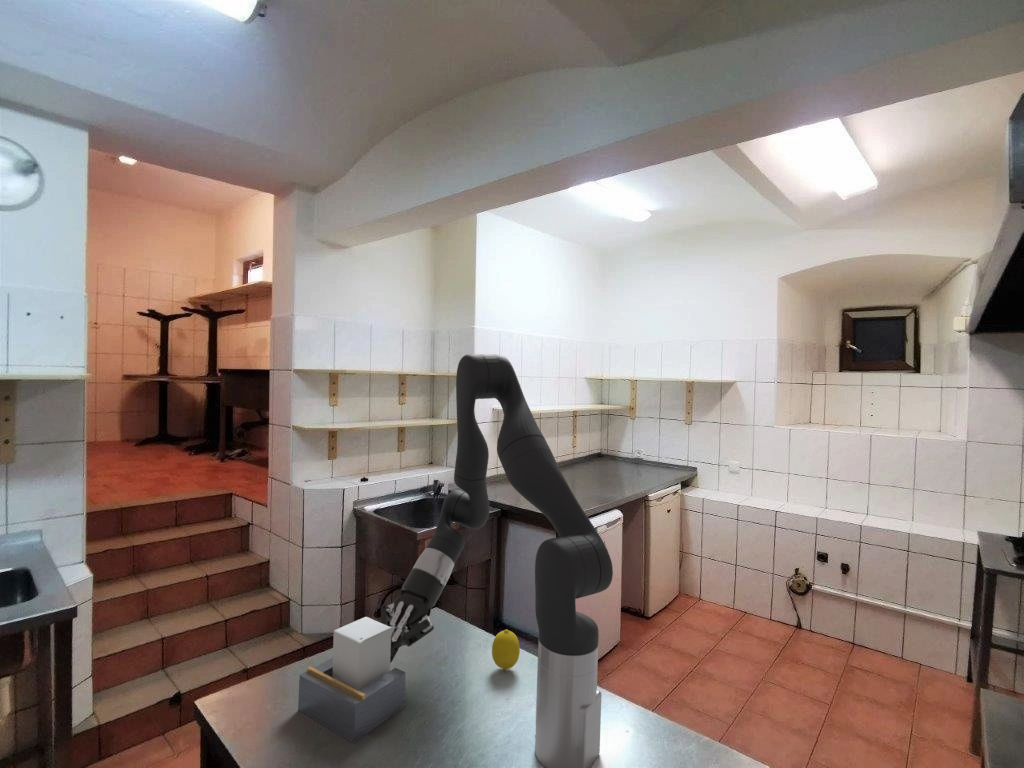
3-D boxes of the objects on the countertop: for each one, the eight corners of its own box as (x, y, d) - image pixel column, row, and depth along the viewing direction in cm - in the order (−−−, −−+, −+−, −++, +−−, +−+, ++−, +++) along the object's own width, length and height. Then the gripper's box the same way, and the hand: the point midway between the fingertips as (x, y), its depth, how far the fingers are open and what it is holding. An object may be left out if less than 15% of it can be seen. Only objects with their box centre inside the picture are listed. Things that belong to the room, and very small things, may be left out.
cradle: (404, 707, 87) (405, 668, 87) (353, 743, 78) (355, 700, 78) (350, 680, 95) (351, 644, 95) (298, 710, 85) (299, 671, 85)
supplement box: (390, 698, 89) (393, 627, 90) (355, 719, 83) (358, 643, 84) (364, 682, 94) (366, 615, 94) (329, 701, 88) (332, 629, 88)
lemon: (519, 663, 102) (521, 624, 102) (517, 679, 97) (519, 637, 97) (493, 661, 103) (494, 622, 103) (489, 676, 97) (490, 635, 97)
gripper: (396, 560, 104) (346, 644, 93) (445, 574, 97) (397, 667, 86) (413, 578, 108) (367, 660, 98) (461, 593, 101) (417, 683, 91)
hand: (381, 663), depth 92 cm, fingers closed
